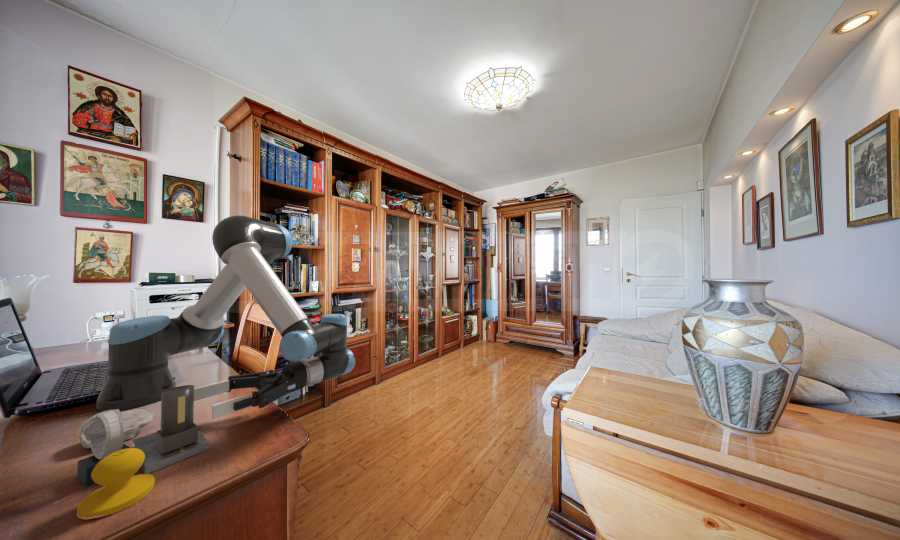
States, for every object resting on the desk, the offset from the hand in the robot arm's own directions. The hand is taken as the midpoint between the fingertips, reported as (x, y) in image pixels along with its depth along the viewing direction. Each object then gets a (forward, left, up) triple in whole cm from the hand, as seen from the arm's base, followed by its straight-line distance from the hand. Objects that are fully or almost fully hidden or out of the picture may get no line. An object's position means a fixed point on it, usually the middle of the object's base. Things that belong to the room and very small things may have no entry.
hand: (202, 403), depth 59 cm
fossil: (-18, -10, -9) cm, 22 cm away
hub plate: (-3, -4, -9) cm, 10 cm away
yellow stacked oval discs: (+8, -12, -9) cm, 17 cm away
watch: (-3, -13, -9) cm, 16 cm away
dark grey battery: (-1, -4, -7) cm, 8 cm away
